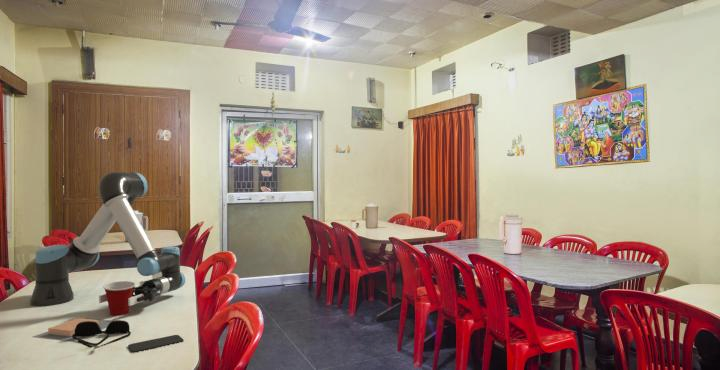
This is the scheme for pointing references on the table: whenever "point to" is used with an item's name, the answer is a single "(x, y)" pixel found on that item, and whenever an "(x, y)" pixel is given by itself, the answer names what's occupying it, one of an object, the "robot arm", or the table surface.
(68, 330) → the tile
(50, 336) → the mat
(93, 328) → the sunglasses
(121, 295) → the plastic cup
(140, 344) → the phone
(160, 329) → the table surface
